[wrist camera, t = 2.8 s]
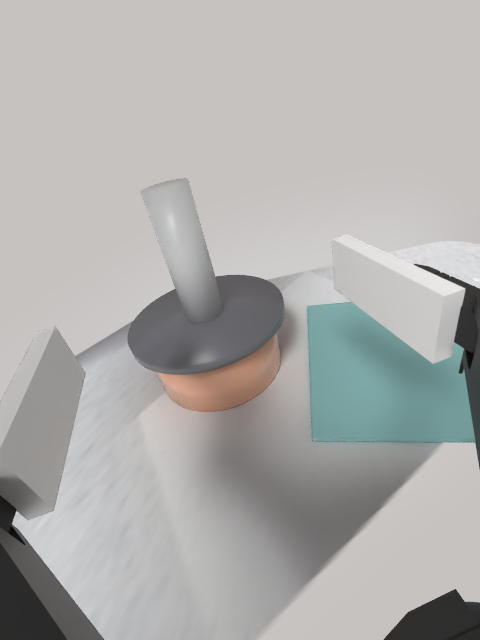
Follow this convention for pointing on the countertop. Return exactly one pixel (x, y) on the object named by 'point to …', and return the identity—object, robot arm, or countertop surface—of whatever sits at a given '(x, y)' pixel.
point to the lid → (198, 297)
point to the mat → (380, 383)
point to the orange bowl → (225, 381)
